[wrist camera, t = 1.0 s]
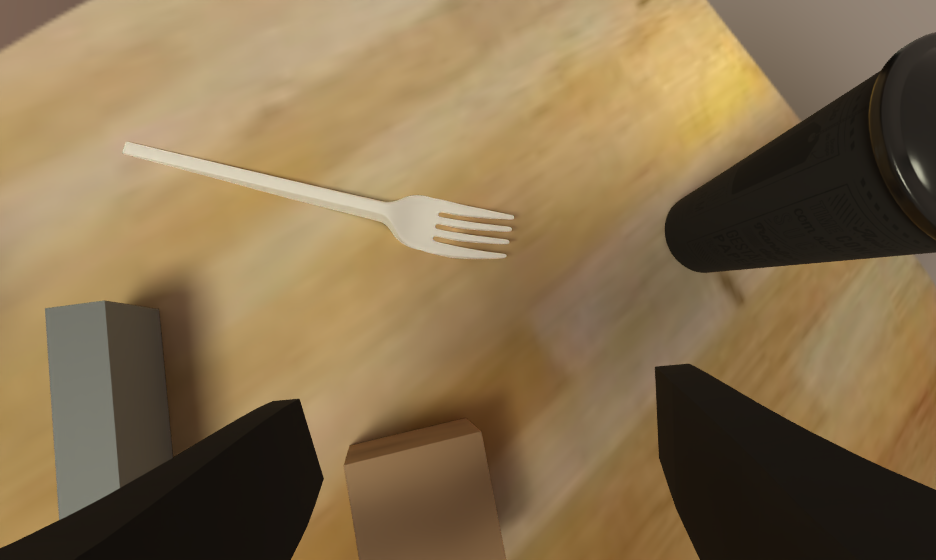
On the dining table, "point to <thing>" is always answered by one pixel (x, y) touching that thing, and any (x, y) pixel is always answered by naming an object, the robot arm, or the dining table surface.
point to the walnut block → (424, 496)
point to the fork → (356, 205)
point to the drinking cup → (827, 182)
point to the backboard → (105, 398)
